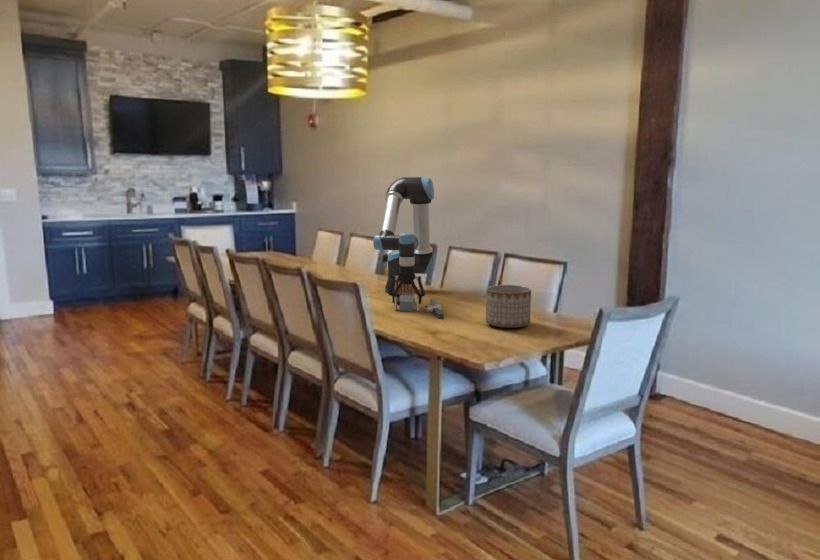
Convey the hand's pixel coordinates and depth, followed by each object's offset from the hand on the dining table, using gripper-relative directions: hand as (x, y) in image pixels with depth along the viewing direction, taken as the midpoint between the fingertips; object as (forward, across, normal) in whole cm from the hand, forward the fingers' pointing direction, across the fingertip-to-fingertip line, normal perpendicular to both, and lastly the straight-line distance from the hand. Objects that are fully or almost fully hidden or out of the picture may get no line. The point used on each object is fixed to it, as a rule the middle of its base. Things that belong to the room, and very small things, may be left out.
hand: (406, 309), depth 302 cm
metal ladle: (0, +15, -5) cm, 16 cm away
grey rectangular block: (0, 0, 0) cm, 0 cm away
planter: (+1, +49, -23) cm, 54 cm away
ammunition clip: (0, -4, +15) cm, 16 cm away
